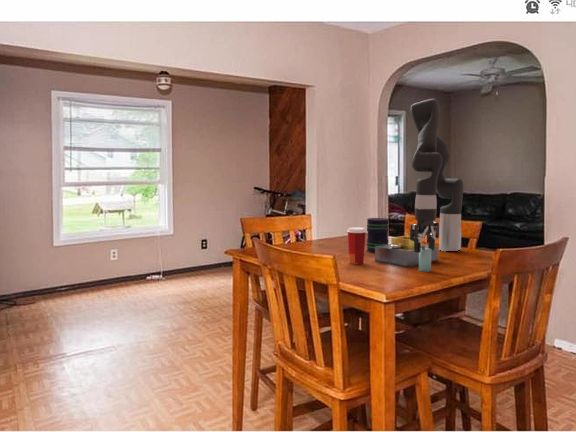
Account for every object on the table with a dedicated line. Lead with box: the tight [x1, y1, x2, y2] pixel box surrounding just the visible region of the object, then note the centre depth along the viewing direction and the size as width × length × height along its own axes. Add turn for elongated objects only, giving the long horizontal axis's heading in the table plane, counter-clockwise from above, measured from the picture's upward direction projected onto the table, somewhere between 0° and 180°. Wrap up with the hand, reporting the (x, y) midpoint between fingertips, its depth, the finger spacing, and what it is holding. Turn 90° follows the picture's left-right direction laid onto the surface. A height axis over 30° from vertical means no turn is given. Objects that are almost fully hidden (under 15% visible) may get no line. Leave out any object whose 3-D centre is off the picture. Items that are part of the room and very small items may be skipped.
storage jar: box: [366, 217, 390, 254], centre depth 214 cm, size 10×10×15 cm
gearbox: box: [374, 235, 439, 268], centre depth 191 cm, size 20×16×10 cm
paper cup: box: [346, 226, 367, 265], centre depth 187 cm, size 8×8×14 cm
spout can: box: [418, 244, 432, 273], centre depth 172 cm, size 4×4×10 cm
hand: (424, 251), depth 172 cm, fingers open, 8 cm apart
